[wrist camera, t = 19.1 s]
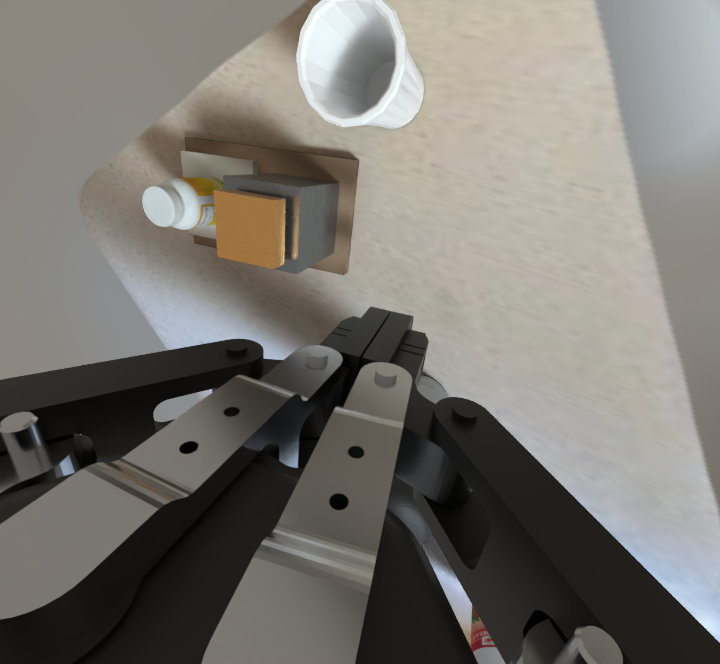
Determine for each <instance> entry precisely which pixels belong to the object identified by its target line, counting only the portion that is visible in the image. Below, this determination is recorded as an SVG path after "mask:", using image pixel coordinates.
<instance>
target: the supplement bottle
mask: <svg viewBox="0 0 720 664" xmlns="http://www.w3.org/2000/svg"><path fill="white" fill-rule="evenodd" d="M219 189H224V186H223V180H221V179H219V178H216V177H198V178H171V179H167V180H165V181H164V182H163V183H162V184H161V185H157V186H150V187H148V188H147V189H146V190H145V191H144V193H143V197H142V204H143V209H144V211H145V213H146V215H147V217H148V218H149V219H150V220H151V221H152V222H153V223H154V224H156V225H158V226H161V227H167V226H173V227H174V228H177V229H181V230H188V229H193V228H198V227H203V226H209V225H214V224H215V209H214V193H213V190H219Z"/></svg>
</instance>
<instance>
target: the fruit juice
mask: <svg viewBox="0 0 720 664" xmlns="http://www.w3.org/2000/svg"><path fill="white" fill-rule="evenodd" d="M471 650H472V652H473V654H474V656H475V658H476V660H477V662H478V664H505V662H504V660H503V658H502V657H501V655H500V653H499V651H498V650H497V648H496V646H495V644H494V642H493V641H492V639H491V637H490V635H489V633H488V632H487V630H486V628H485V626H484V624H483V623H482V621H481V619H480V617H479V616H478V614H477V612H476V610H475V608H474V607H473V605H472V625H471Z"/></svg>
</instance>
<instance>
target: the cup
mask: <svg viewBox="0 0 720 664" xmlns="http://www.w3.org/2000/svg"><path fill="white" fill-rule="evenodd" d="M296 63H297V72H298V80H299V85H300V87H301V89H302V91H303V94H304V96H305V98H306V100H307V102H308V105H309V106H310V107H311V108H312V109H313V110H314V111H315V112H316V113H317V114H318V115H319V116H320V117H321V118H322V119H323V120H324V121H327V122H330V123H333V124H335V125H338V126H341V127H350V126H359V125H366V124H369V125H375V126H381V127H384V128H387V129H392V128H400V127H402V126H403V125H405V124H407V123H408V122H410V121H411V120H412V119H413V117H414V116H415V115H416V114H417V112H418V111H419V109H420V106H421V103H422V100H423V93H424V84H423V79H422V76H421V74H420V71H419V69H418V68H417V67H416V65H415V63H414V61H413V60H412V58H411V56H410V54H409V52H408V50H407V48H406V40H405V36H404V33H403V31H402V28H401V25H400V23H399V20H398V17H397V15H396V12H395V10H394V9H393V8H392V7H391V6H390V5H389V4H388V3H387V2H386V1H385V0H321V1H320V2H319V3H317V4H316V5H315V6H314V7H313V8H312V10H311V12H310V14H309V16H308V18H307V20H306V22H305V23H304V25H303V27H302V29H301V31H300V37H299V43H298V48H297V54H296Z"/></svg>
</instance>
